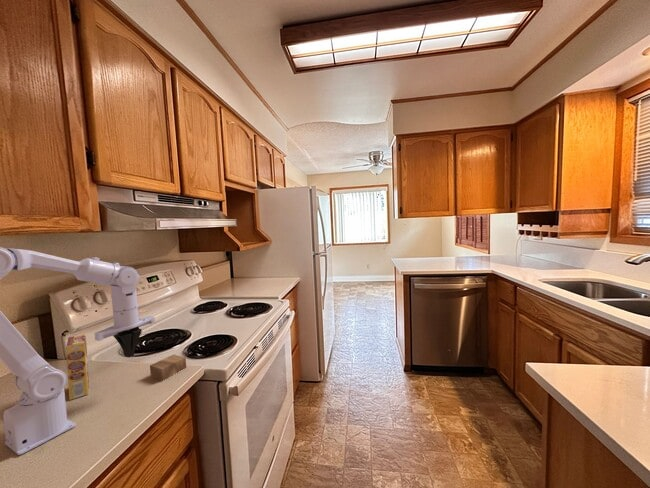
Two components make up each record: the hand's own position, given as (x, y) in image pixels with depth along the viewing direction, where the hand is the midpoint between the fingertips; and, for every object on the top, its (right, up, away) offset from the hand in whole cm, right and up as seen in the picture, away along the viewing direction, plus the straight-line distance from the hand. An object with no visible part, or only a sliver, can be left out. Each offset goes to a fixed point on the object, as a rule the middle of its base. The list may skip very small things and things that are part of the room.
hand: (129, 355), depth 79 cm
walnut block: (+4, -8, +7) cm, 11 cm away
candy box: (-16, -11, +2) cm, 19 cm away
